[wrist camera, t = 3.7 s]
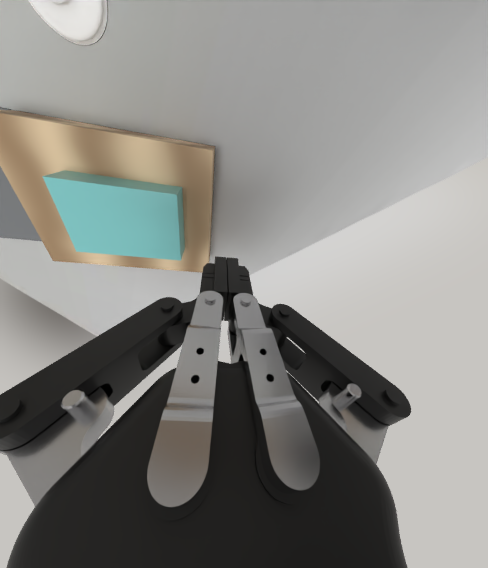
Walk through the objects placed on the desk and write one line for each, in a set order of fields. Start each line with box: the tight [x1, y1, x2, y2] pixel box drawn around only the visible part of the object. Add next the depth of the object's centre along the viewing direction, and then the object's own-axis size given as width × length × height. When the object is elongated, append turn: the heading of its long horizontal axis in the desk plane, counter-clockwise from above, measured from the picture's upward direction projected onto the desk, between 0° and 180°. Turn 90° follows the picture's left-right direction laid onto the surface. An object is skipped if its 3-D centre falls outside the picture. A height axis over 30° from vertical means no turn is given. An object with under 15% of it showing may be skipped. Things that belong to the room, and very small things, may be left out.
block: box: [42, 170, 185, 261], centre depth 17 cm, size 9×6×2 cm, turn 81°
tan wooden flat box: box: [0, 110, 215, 272], centre depth 19 cm, size 16×12×4 cm
